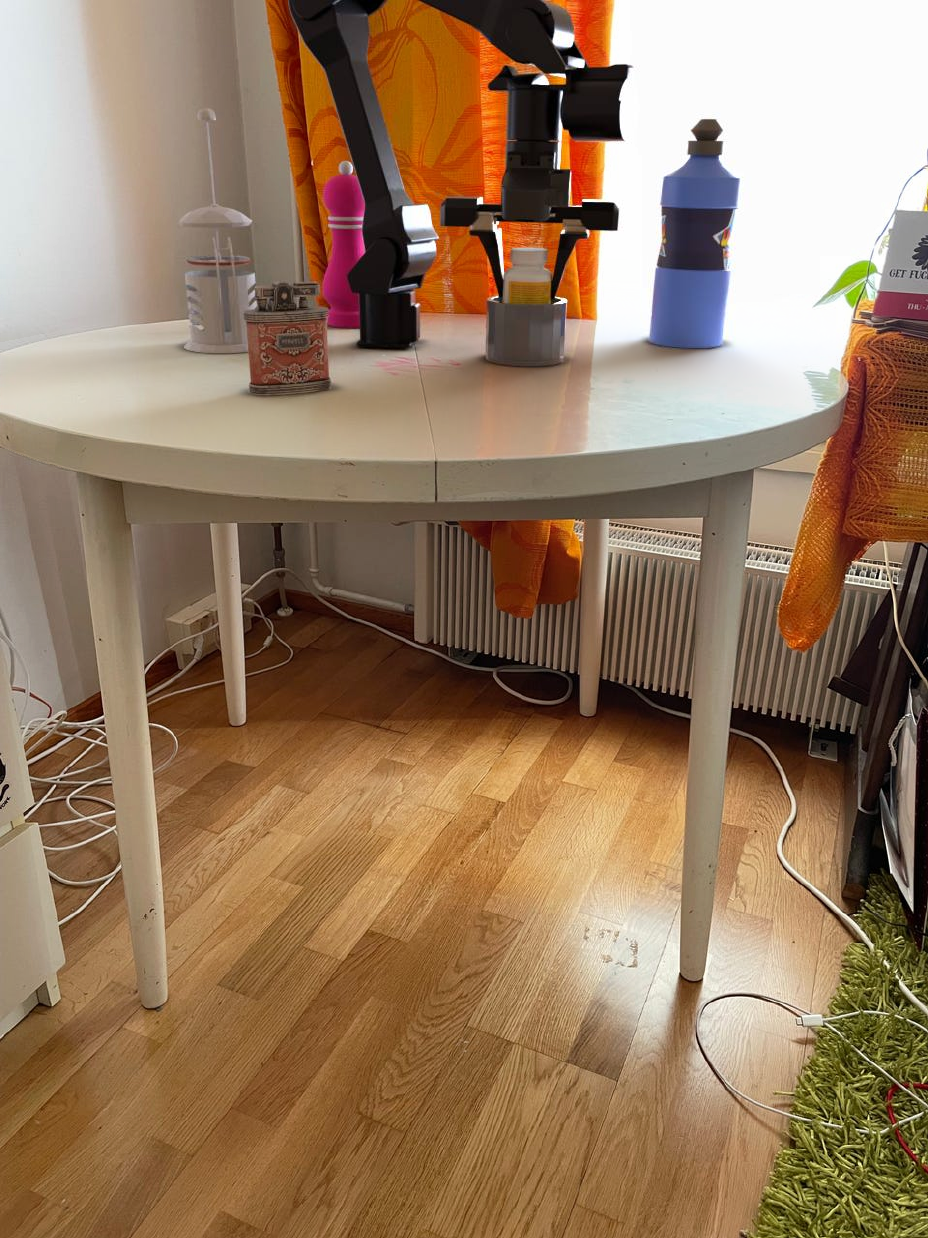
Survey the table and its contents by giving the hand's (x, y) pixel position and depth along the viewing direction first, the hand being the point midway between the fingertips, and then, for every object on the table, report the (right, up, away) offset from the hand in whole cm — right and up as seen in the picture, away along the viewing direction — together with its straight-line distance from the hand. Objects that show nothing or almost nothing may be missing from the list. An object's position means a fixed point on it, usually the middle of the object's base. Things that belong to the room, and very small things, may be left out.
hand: (526, 297), depth 109 cm
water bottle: (+21, -1, +15) cm, 26 cm away
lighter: (-24, -13, -14) cm, 30 cm away
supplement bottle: (0, -4, +2) cm, 5 cm away
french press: (-35, -4, +7) cm, 36 cm away
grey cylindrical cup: (0, -6, +3) cm, 7 cm away
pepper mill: (-22, +4, +24) cm, 33 cm away
